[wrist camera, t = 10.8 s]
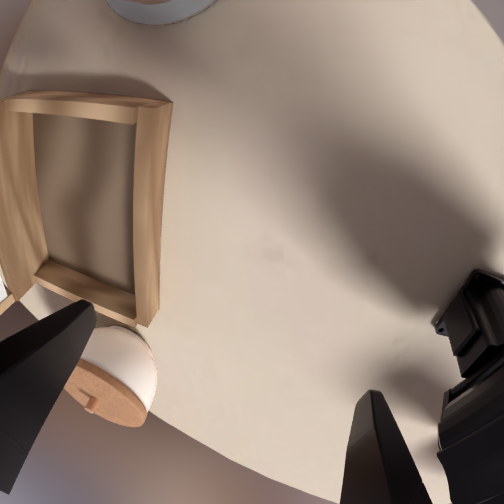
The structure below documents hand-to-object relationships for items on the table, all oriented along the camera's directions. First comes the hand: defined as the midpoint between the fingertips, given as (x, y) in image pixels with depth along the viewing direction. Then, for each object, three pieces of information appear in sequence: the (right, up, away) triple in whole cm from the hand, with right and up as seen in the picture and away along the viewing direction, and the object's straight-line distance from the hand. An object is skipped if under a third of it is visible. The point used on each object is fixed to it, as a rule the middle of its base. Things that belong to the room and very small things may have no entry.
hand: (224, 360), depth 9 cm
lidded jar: (-13, -7, +24) cm, 28 cm away
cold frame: (-13, +7, +14) cm, 20 cm away
